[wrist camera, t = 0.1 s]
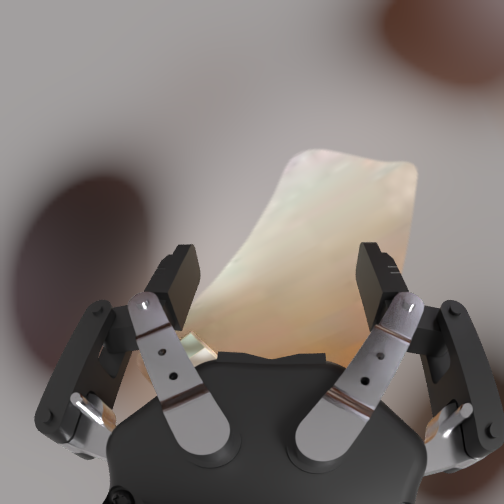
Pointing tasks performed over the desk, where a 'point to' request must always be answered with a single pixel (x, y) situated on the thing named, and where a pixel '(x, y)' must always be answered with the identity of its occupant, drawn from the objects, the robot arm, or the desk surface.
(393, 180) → the desk surface
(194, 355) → the board
